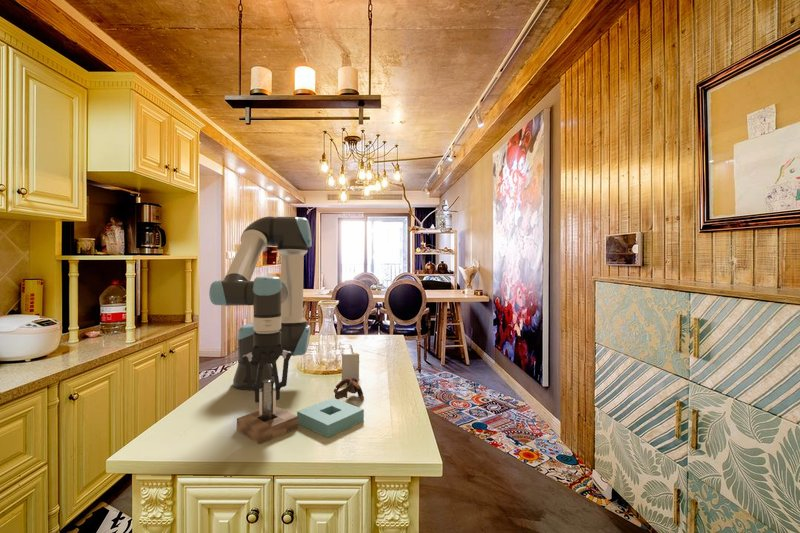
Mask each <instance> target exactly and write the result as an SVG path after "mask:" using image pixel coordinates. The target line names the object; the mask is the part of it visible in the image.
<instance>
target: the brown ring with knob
mask: <svg viewBox="0 0 800 533" xmlns="http://www.w3.org/2000/svg"><path fill="white" fill-rule="evenodd" d="M345 385H346V387H344V388H343V389H341V387H343V386H345ZM340 389H341V390H340ZM333 392H334V398H335V399H338V400H340V399H344V398H346V399H348V393H350V394H357V396H358V397H359V399H360V402H361V403H363V402H364V400H365V396H364V393H363V390H362V387H361V385H360V384H359V383H358V380H356V379H355V378H351V379H350V378H348V379H345V380H341V381H339V383H337V384H336V386H335V388H334V389H333Z"/></svg>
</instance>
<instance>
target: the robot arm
mask: <svg viewBox="0 0 800 533" xmlns="http://www.w3.org/2000/svg"><path fill="white" fill-rule="evenodd" d="M312 243H313V240H312V232H311V226H310V222H309V220H308V219H307V218H306V217H299V216H270V215H269V216H265V217H260V218H259V219H256V220H254V221H253V222H251V223H250V224H248V226H246V227H245V228H244V230H243V232H242V233H241V236H240V245H239V248H238V249H237V250H236V253H235V255H234V257H233V260H232V262H231V263H230V266H229V268H228V270H227V272H226V274H225V276H224V278H223V280H220V279H219V280H215V281H212V282H211V284H210V286H209V300H210V302H211V304H213V305H215V306H225V307H229V306H233V307H234V306H252V307H253V315H252V316H253V317H252V318H253V320H252V321H253V322H250V323H246V324H243V325H242V326H239V328H238V332H237V333H238V334H237V359H238V360H237V367H236V369H235V370H236V371H235V373H234V376H233V379H232V386H233V387H234V388H235V389H238V390H248V391H252V392H254V403H256V404H258V405H259V406H258V411H259V415H262V381H263V380H266V379H272V380H273V384H274V386H273V413H276V407H277V401H280V398H281V389H282V388H285V387H286V386H287V384H288V375H289V364H290V360H291V358H292V357H296V356H304V355H305V354H306V353H307V352H308V349H309V343H310V337H311V330H312V329H311V328H312V327H311V325H309V324H307V323H308V321H307V319H306V318H305V317H304V269H305V268H304V264H305V263H304V260H305V257H304V256H305V255H306V254H307V253H308V251H309V249H308V248H311V247H312V245H313V244H312ZM267 247H276V248H277V249H276V251H277V253H279V254H280V277H279V276H273V275H272V276H271V275H270V276H269V275H268V276H264V275H263V276H256V277H255V278H254V279H253V280H252V277H253V275H254V272H255V269H256V267H257V265H258V262H259V259H260V256H261V254H262V251H264V250H265V249H266V248H267ZM280 357H282V359H283V365H282V374H281V381H280V379H279V372H278V366H277V361H278V360H279V358H280Z"/></svg>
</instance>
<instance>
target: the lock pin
mask: <svg viewBox="0 0 800 533" xmlns="http://www.w3.org/2000/svg"><path fill="white" fill-rule="evenodd" d="M273 388H274V383H273V380H272V379H266V380H263V381H262V388H261V389H262V421H264V422H266V421H269V420H272V419H273Z"/></svg>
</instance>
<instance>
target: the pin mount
mask: <svg viewBox="0 0 800 533" xmlns="http://www.w3.org/2000/svg"><path fill="white" fill-rule="evenodd" d="M298 427H299V424H298V416H297V414H293V413H291V412H289V411H288V410H284V409H283V408H280V407H278V406H276V413H273V419H272V420H269V421H266V422H264V421H262V415H259V410H257V411H254V412H250V413H247V414H245V415H241V416H240V417H236V431H237V432H239V433H240V434H243V436H246V437H248V438H249V439H250V440H252V441H254V442H255V443H257V444H263V443H265V442H266V443H267V442H268V441H270V440H274V439H276V438H278V437H280V436H282V435H285V434H287V433H290V432H292V431H294V430H297V429H298Z"/></svg>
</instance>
